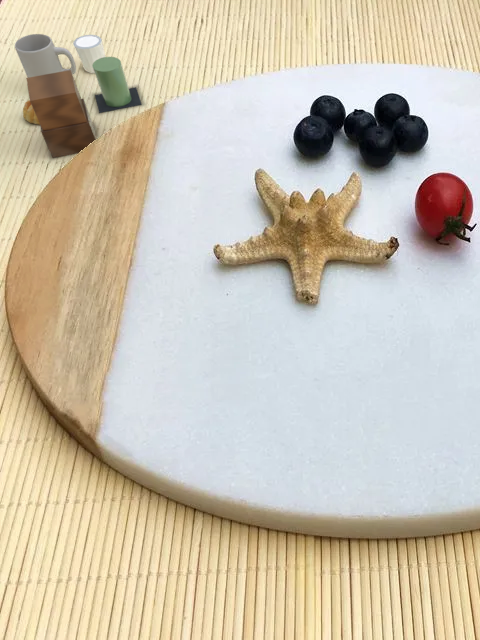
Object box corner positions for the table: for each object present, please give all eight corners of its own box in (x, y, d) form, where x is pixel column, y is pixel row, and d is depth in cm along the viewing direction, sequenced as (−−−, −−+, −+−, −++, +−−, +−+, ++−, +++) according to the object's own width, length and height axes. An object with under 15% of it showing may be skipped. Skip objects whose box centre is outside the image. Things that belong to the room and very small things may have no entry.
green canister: (106, 109, 160) (94, 73, 153) (102, 95, 164) (90, 59, 156) (133, 104, 162) (122, 68, 154) (129, 90, 165) (118, 54, 158)
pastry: (73, 113, 160) (67, 98, 157) (60, 130, 156) (54, 115, 153) (37, 108, 161) (30, 93, 158) (22, 124, 157) (16, 110, 154)
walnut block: (53, 159, 149) (27, 102, 138) (49, 134, 155) (24, 77, 144) (99, 150, 152) (78, 92, 140) (93, 125, 157) (72, 68, 146)
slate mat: (99, 114, 160) (99, 112, 159) (95, 96, 164) (94, 95, 164) (142, 106, 162) (141, 104, 162) (136, 89, 166) (136, 87, 166)
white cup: (87, 60, 174) (77, 33, 168) (113, 61, 174) (104, 34, 168) (79, 75, 170) (69, 48, 164) (106, 76, 169) (97, 48, 164)
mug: (30, 97, 164) (10, 53, 155) (35, 78, 169) (17, 34, 160) (80, 94, 165) (64, 50, 156) (84, 75, 170) (69, 31, 161)
